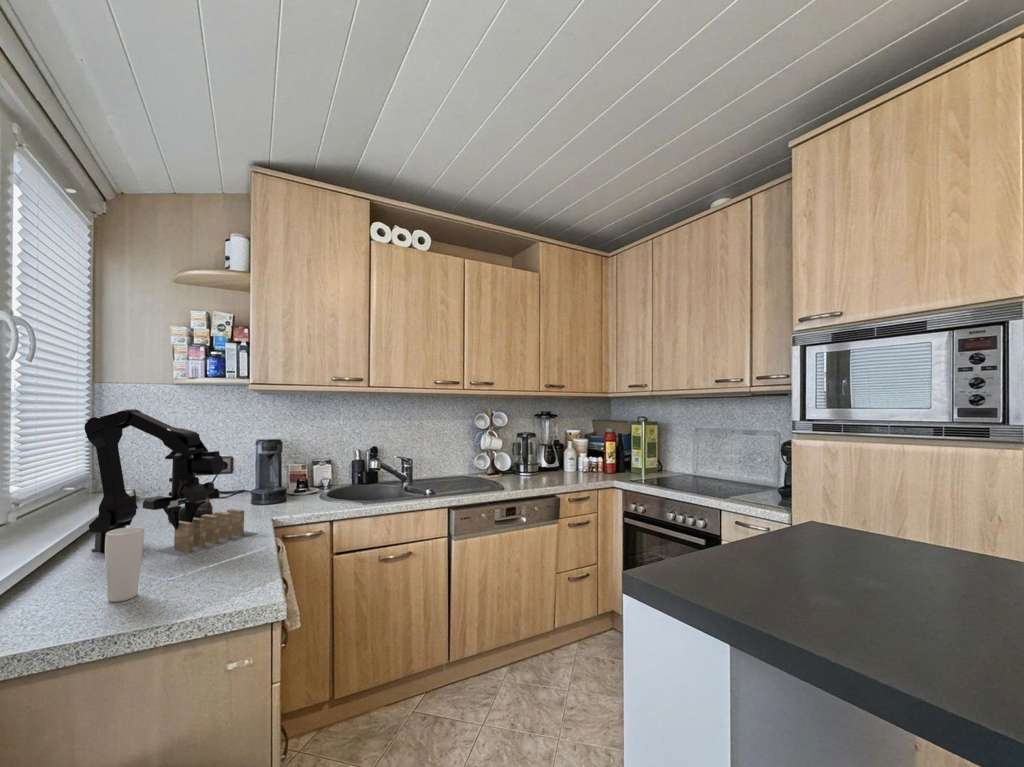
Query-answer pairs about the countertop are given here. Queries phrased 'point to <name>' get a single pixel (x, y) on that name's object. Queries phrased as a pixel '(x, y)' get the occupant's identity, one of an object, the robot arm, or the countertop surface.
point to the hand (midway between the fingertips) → (182, 527)
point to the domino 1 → (184, 537)
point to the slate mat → (171, 550)
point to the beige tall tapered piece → (123, 562)
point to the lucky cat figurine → (202, 510)
